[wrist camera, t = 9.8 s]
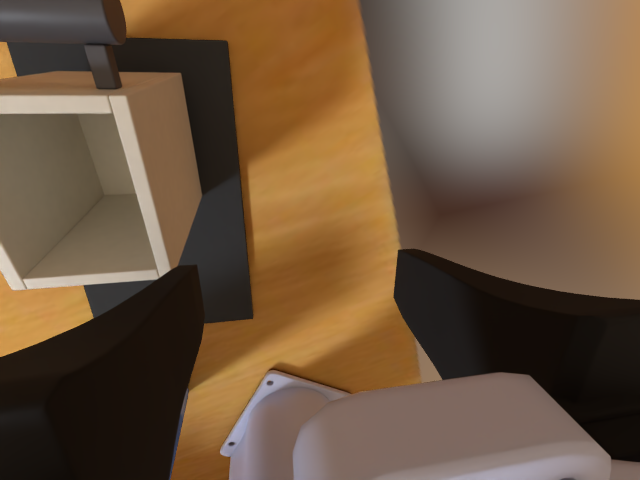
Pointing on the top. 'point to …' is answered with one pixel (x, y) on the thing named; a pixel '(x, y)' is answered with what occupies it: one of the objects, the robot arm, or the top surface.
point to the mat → (211, 157)
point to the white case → (90, 157)
